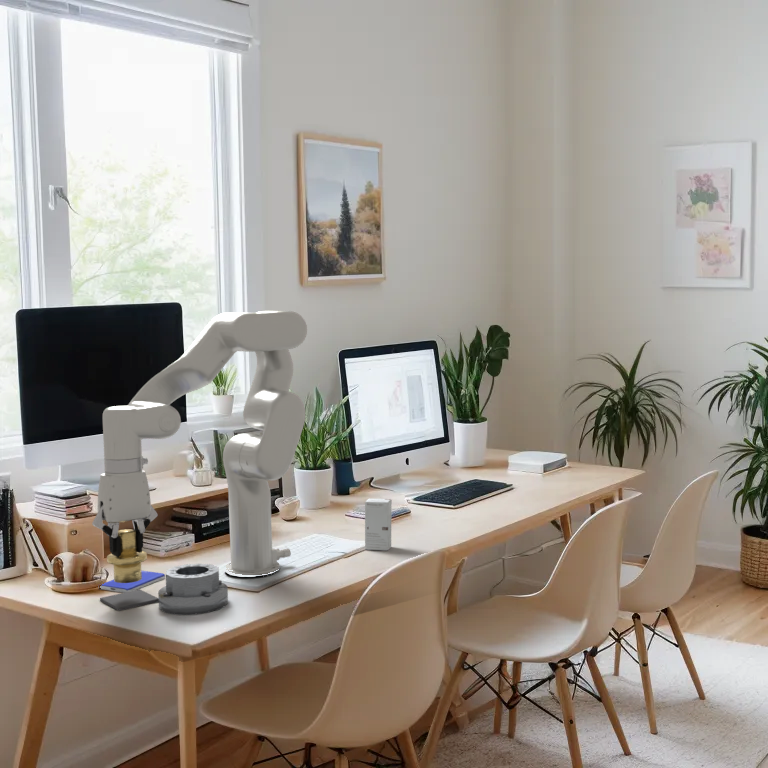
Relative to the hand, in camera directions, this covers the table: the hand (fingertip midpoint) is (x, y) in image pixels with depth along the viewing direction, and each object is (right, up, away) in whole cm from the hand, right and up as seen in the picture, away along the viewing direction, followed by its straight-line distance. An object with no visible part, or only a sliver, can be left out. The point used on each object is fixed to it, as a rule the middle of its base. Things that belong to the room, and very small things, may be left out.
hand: (126, 552), depth 210 cm
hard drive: (-2, -10, +14) cm, 18 cm away
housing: (+14, -10, -2) cm, 18 cm away
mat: (0, -10, +1) cm, 10 cm away
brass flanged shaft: (0, -6, 0) cm, 6 cm away
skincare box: (+52, -6, +40) cm, 66 cm away
